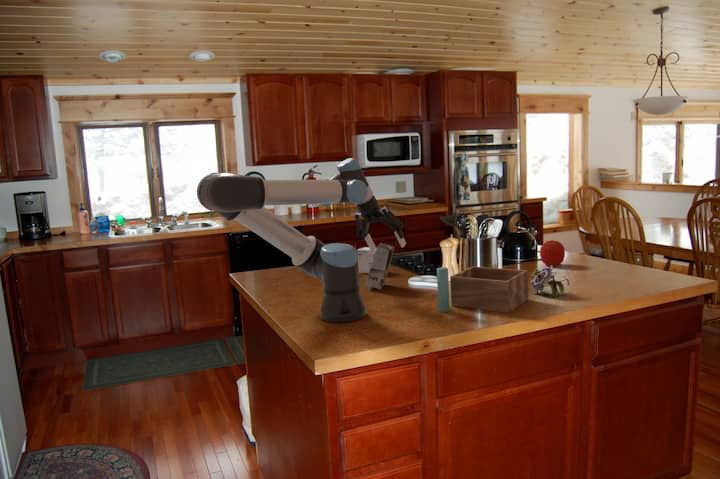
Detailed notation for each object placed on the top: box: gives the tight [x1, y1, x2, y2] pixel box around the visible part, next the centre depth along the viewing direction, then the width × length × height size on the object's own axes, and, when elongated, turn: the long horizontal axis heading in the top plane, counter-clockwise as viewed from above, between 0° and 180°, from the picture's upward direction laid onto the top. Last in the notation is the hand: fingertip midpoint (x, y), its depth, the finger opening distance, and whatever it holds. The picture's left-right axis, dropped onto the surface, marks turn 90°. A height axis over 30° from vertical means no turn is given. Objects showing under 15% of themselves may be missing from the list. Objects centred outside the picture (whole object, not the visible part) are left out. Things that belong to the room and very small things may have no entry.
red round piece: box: [539, 239, 566, 268], centre depth 235 cm, size 10×10×12 cm
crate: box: [449, 265, 529, 314], centre depth 186 cm, size 17×20×10 cm
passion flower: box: [530, 265, 570, 299], centre depth 192 cm, size 11×11×12 cm
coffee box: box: [365, 242, 396, 290], centre depth 217 cm, size 9×6×16 cm
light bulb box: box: [356, 246, 377, 275], centre depth 245 cm, size 11×7×11 cm, turn 58°
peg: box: [436, 267, 451, 313], centre depth 180 cm, size 4×4×14 cm
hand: (388, 248), depth 206 cm, fingers open, 13 cm apart
